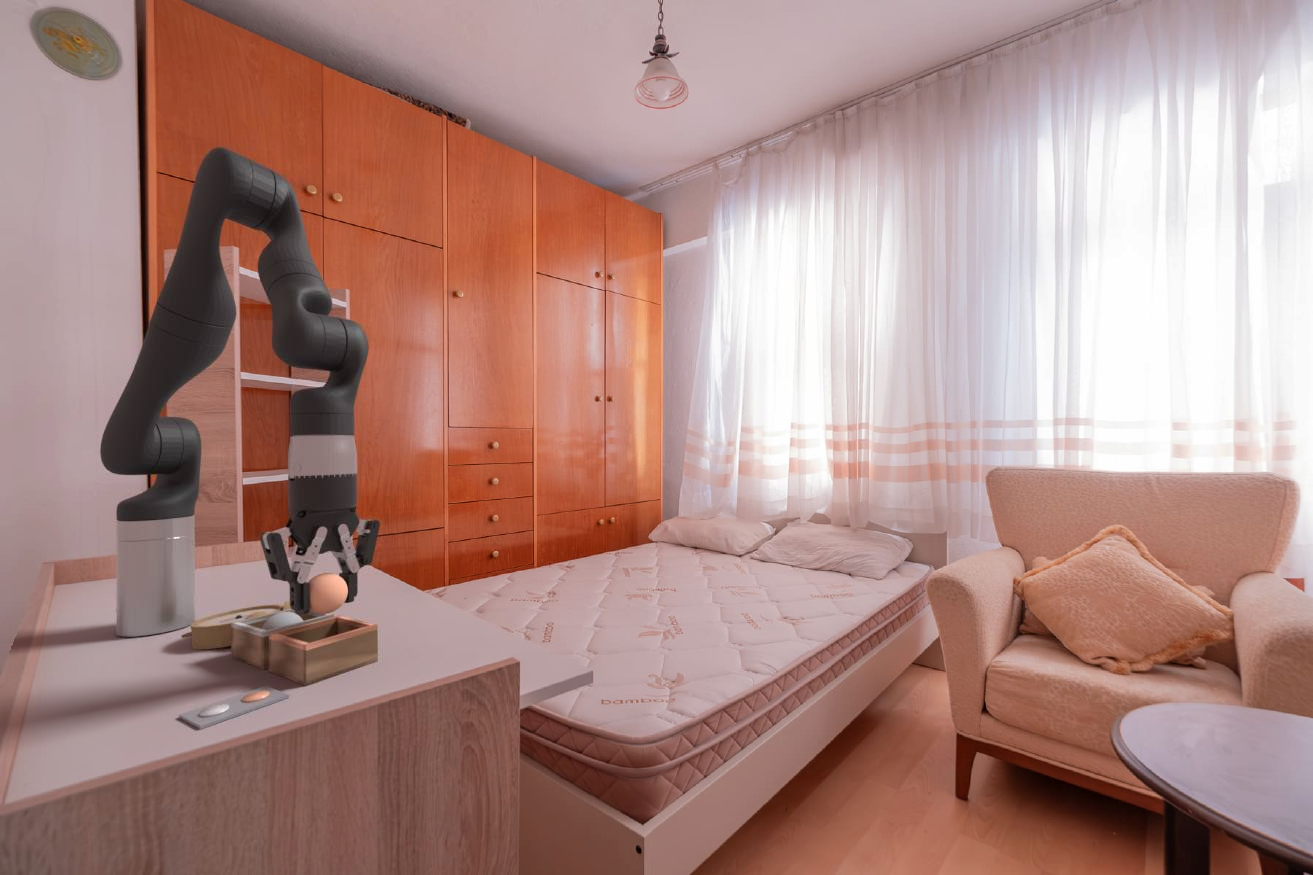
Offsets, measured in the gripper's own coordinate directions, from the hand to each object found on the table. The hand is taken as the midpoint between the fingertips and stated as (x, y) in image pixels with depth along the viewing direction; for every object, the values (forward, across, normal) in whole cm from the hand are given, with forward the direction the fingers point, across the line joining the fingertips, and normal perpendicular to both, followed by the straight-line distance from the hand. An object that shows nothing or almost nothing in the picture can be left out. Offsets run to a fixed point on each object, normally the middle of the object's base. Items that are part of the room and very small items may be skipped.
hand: (324, 606), depth 71 cm
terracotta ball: (-2, 0, 0) cm, 2 cm away
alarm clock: (+8, -1, -22) cm, 23 cm away
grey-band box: (+7, 0, -10) cm, 13 cm away
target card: (+7, +11, +3) cm, 14 cm away
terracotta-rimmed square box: (+7, 0, 0) cm, 7 cm away
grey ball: (+4, 0, -10) cm, 11 cm away
